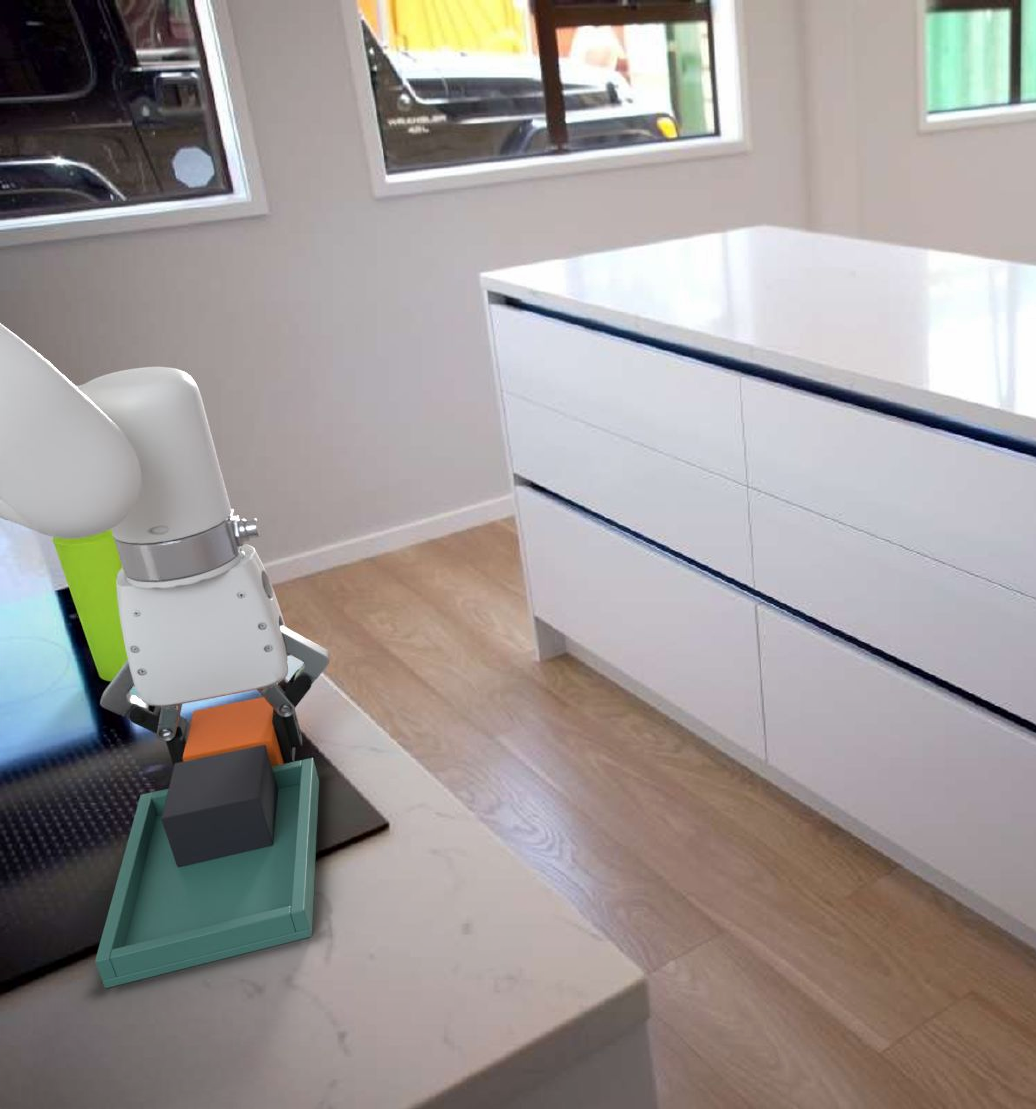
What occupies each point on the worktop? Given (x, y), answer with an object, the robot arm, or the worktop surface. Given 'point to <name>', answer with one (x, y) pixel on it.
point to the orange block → (233, 730)
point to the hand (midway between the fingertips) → (242, 763)
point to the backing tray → (211, 890)
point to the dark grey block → (221, 806)
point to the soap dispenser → (96, 596)
